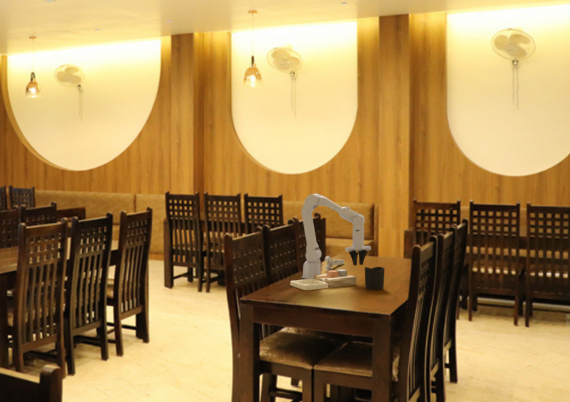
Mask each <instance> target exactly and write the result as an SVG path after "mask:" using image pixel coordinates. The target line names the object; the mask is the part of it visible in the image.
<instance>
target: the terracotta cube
mask: <svg viewBox="0 0 570 402" xmlns="http://www.w3.org/2000/svg"><path fill="white" fill-rule="evenodd" d="M326 274H327V278H332V277H338V271H336V270H334V269H331V270H326Z"/></svg>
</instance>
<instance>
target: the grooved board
mask: <svg viewBox="0 0 570 402" xmlns="http://www.w3.org/2000/svg"><path fill="white" fill-rule="evenodd" d="M314 279H316V280H319V281H322V282H326V283H328V288H329V289H330V288H331V289H332V288H340V287H347V286H348V287H349V286H357V276H354V275H347V276H342V277H332V278H327V273H325V274H324V273H323V274H321V273H320V275H314ZM328 288H327V289H328Z"/></svg>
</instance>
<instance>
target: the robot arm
mask: <svg viewBox="0 0 570 402" xmlns="http://www.w3.org/2000/svg"><path fill="white" fill-rule="evenodd" d="M318 206H321V207H323V206H324V207H327V208H328V209H331V210H332V211H335V212H336V213H338V214H339V217H341V218H342V219H344V220H346V221H348V222H349V223H351V224H352V246H348V247H345V250H344V251H345V252H346V253H348V254H349V255H350V258H351V261H352V265H353V266H355V267H356V266H357V265H360V266H363V265H364V262H365V258H366V256H367V254H368V251H371V250H372V246H370V245H365V225H364V224H365V222H366V218H365V216H364V215H363V214H362V213H358V211H354V210H352V209H351V207H350V206H341V205H339V204H337V203H336V202H334V201H332V200H331V199H329V198H328V197H325V196H324V195H321V194H320V193H312V194H309V195H308V196H307V197H306V198H305V199H304V202H303V204H302V208H301V211H300V212H301V217H302V223H303V228H304V229H303V231H304V234H305V235H304V236H305V240H306V241H305V242H306V247H305V249H306V251H305V259H306V261H305V262H304V263H303V266H302V268H303V270H302V271H303V272H302V276H301V278H302V279H304V280H305V279H314V275H320V274H321V258H322V254H323V253H322V251H321V249H320V248H319V247H320V246H319V244H318V242H317V238H316V237H317V236H316V232H315V230H316V229H315V224H314V220H313V214H312V213H313V212H314V211H315V209H316V208H317V207H318ZM358 263H359V264H358Z"/></svg>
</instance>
